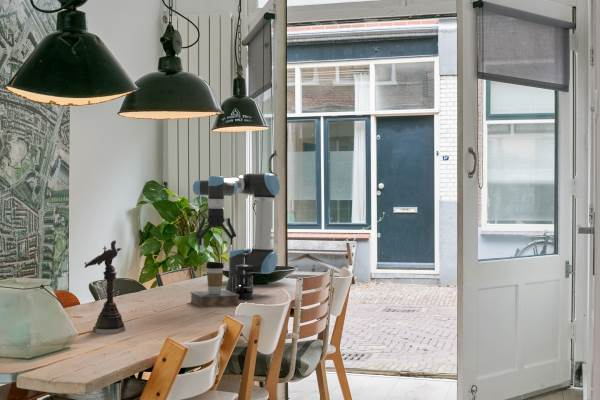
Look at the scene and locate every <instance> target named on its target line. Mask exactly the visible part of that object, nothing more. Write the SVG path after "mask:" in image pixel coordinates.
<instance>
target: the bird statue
mask: <svg viewBox="0 0 600 400" xmlns="http://www.w3.org/2000/svg"><path fill="white" fill-rule="evenodd" d="M116 243H117V241H116V240H112V241H111V243H110V248H109V249H107V247H106V245H103V248H102V249H103V253H101V254H98V255H97V256H96V257H94V258H93V259H91V260H90V261H85V262H84V268H85V269H86V268H87V267H91V266H96V265H98V267H99V266H100V265H101V264H102V263H103V262H104V266H105V268H104V271H103V272H102V273H103V275H104V277H103V279H104V280H106V290H105V292H106V301H105V302H104V303H103V307H102V308H101V311H100V313H99V314H98V315H97V319H96V322H95V324H94V325H95V326H93V327H92V332H93V333H95V334H104V335H109V334H110V335H111V334H119V333H123V332H126V326H125V324H124V323H125V322H124V321H123V315H122V314H121V312H119V309H118V307H117V303H116V302H115V301H114V292H115V290H114V281H115V280H116V279H117V274H118V272H117V271H116V267H115V266H114V265H112V264H113V260H114V259H115V258H116V257H118V253H119V251H121V250H122V247H116Z"/></svg>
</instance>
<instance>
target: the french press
mask: <svg viewBox="0 0 600 400" xmlns="http://www.w3.org/2000/svg"><path fill="white" fill-rule="evenodd" d="M241 255H243V257H244V264H241V265H235V266H236V270H243V271H247V270H249V269H251V268H252V266H253V265H247V264H245V255H248V254H246V253H242V254H241ZM233 276H235V292H233ZM236 278H240V285H237V286H236ZM249 278H251V281H252V286H250V285H247V284H248V279H249ZM253 279H254V276H253V274H251V273H250V274H237V275H232V276H231V292H233V293H235V294H238V295H240V296H238V301H250V299H251V300H253V299H254V297H253V292H254V283H253V282H254V280H253ZM236 288H240V291H236ZM247 288H252V292H251V291H247Z"/></svg>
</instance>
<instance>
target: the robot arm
mask: <svg viewBox="0 0 600 400" xmlns="http://www.w3.org/2000/svg"><path fill="white" fill-rule="evenodd" d="M280 187H281V185H280V181H279V178H278V177H277V175H276V174H274V173H268V172H267V173H264V172H263V173H245V174H239V175H234V176H232V177H229V178H225V177H224V176H222V175H209V177H208V179H207V180H202V179H200V180H195V181H194V182H193V184H192V191H193V193H194V194H195V195H196V196H208V198H207V207H208V208H207V209H208V210H207V218H205V217H202V218H201V219H200V224H199V225H198V228H197V230H196V232H195V234H194V237H195V238H196V239H198V240H197V241H198V242H197V243H198V246H199V247H200V249H199V252H200V253H202V254H203V253H204V236H205V235H206V234H207V232H208V231H209V230H210V229H211V228H221V229H222V230H223V231H224V233H225V234H226V236H227V243H226V245H227V249H226V252H228V253H229V255H228V263H229V264H228V279H227V281H226V282H227V283H226V285H225V290H228V291H230V292H231V276H232V275H237V274H250V275H251V274H267V275H268V274H272V273H273V272H274V271H275V269H276V266H277V264H278V257H277V256H278V255H277V254H276V252H274V248H273V247H272V241H271V240H272V215H273V201H274V200H275V199H276V196H278V194H279V193H280V189H281V188H280ZM236 194H242V195H243V194H244V195H250V196H251V195H253V199H254V200H255V201H256V202H255V207H256V208H255V225H254V226H255V229H254V230H255V231H254V233H255V234H254V246H253V247H251V248H241V249H231V248H232V247H231V246H232V245H233V239H234V238H235V237H237V233H236V232H235V230H234V227H233V225H232V223H231V218H230V217H226V218H225V215H224V214H225V213H224V212H225V209H224V205H225V204H224V203H225V197H231V196H235V195H236ZM206 223H208V224H207V225H206V227H205V228H204V226H205V224H206ZM224 223H225V224H226V225H227V227H228V229H229V230H228V229H227V227H226V226H225V225H224ZM203 228H204V229H203ZM202 229H203V230H202ZM242 253H246V254H248V255H245V264H247V265H253V266H252V268H251V269H249V270H247V271H243V270H236V266H235V265H241V264H244V257H243V255H241V254H242ZM237 285H240V278H236V286H237ZM247 285H250V286H252V278H249V279H248V284H247ZM236 291H240V288H236ZM247 291H251V292H252V288H247ZM233 292H235V276H233Z"/></svg>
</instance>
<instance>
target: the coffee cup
mask: <svg viewBox="0 0 600 400" xmlns="http://www.w3.org/2000/svg"><path fill="white" fill-rule="evenodd" d="M205 266H206V267H205V268H206V274H207V275H206V276H207V277H206V279H207V287H208V289H207V291H208V293H209V294H221V291H222V286H223V285H222V284H223V275H224V273H223V270H224V269H225V266H224V263H223V262H216V261H207V262H206V265H205Z"/></svg>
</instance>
